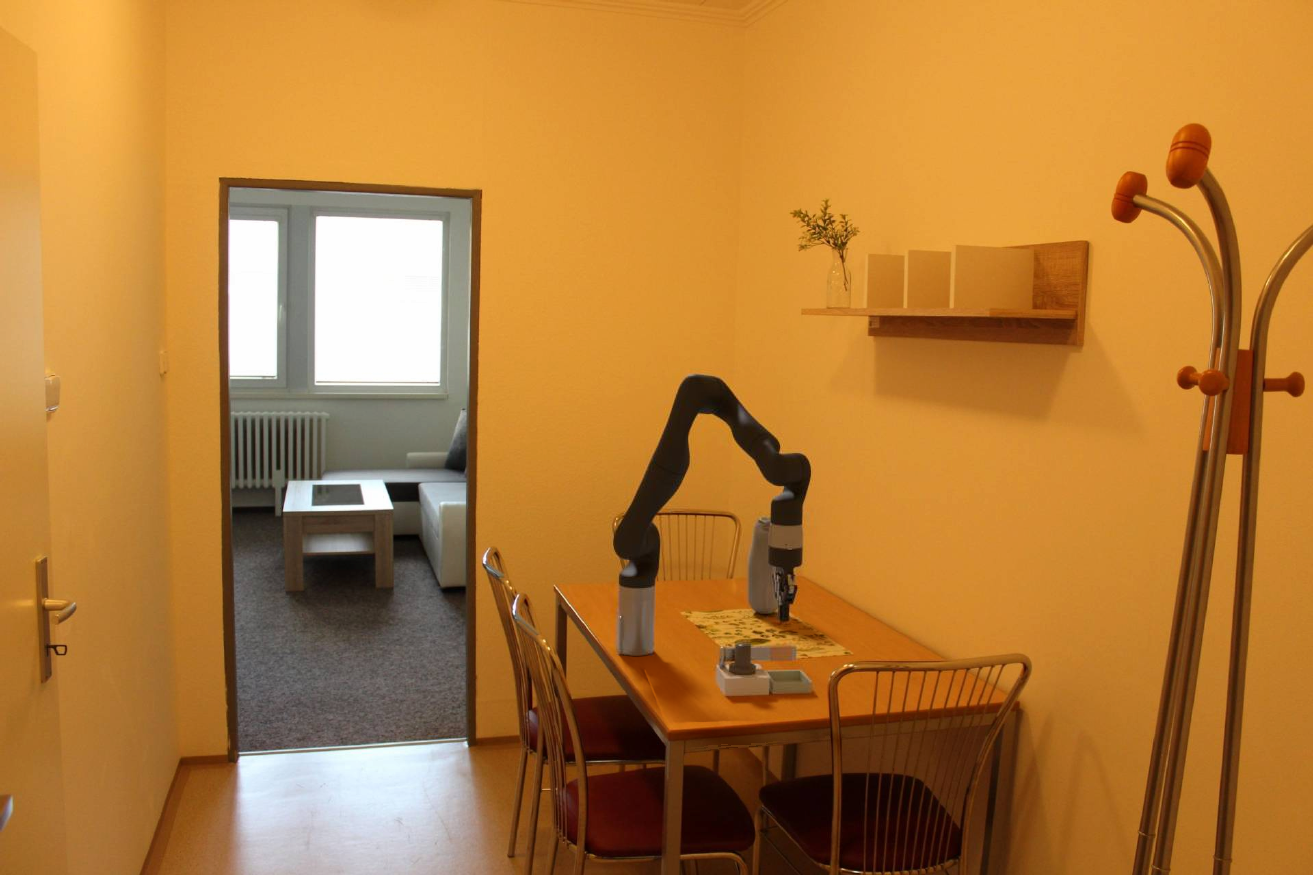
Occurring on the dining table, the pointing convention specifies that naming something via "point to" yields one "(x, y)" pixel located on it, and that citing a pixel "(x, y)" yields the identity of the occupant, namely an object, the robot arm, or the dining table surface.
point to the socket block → (742, 682)
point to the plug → (742, 660)
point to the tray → (789, 682)
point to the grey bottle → (761, 571)
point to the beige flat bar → (760, 653)
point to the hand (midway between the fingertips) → (783, 620)
